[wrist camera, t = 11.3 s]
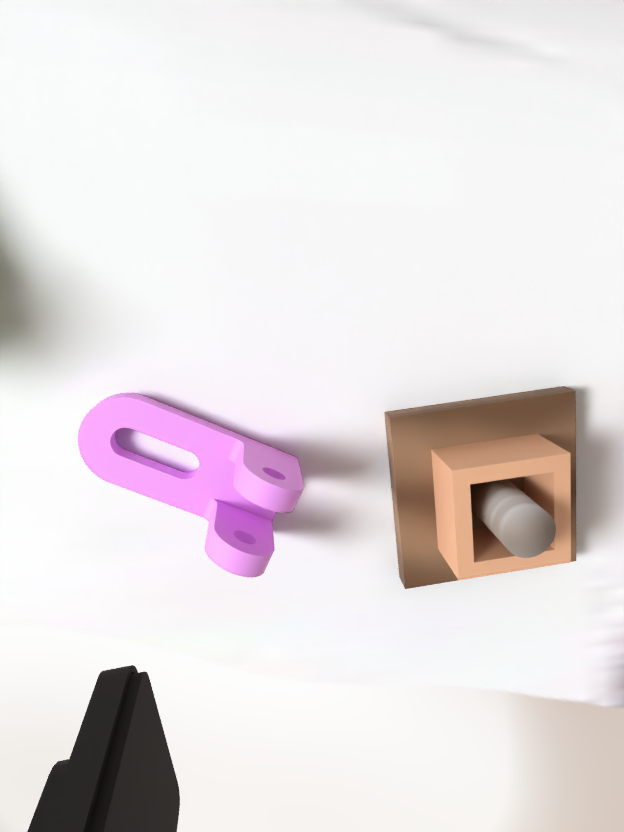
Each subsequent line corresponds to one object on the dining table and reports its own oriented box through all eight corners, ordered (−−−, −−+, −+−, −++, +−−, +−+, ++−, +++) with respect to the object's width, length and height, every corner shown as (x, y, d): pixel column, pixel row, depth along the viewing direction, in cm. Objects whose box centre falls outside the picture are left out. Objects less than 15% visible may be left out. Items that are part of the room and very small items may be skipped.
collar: (431, 449, 37) (452, 470, 33) (537, 433, 38) (570, 453, 34) (438, 549, 39) (458, 580, 35) (539, 532, 39) (570, 562, 35)
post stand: (384, 412, 38) (416, 446, 30) (563, 386, 38) (635, 414, 31) (399, 577, 41) (431, 644, 34) (564, 550, 42) (630, 610, 34)
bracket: (297, 457, 38) (306, 497, 31) (263, 530, 39) (265, 584, 32) (102, 378, 36) (68, 404, 29) (71, 458, 37) (31, 502, 30)
